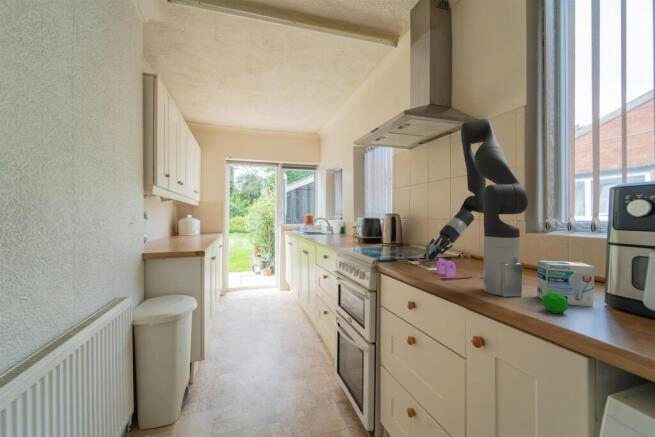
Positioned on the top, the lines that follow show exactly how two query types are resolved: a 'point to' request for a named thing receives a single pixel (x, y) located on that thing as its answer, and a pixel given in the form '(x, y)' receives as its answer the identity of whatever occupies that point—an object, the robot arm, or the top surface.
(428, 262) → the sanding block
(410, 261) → the board
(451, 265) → the bracket
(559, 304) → the green lime
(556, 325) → the top surface
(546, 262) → the light bulb box
